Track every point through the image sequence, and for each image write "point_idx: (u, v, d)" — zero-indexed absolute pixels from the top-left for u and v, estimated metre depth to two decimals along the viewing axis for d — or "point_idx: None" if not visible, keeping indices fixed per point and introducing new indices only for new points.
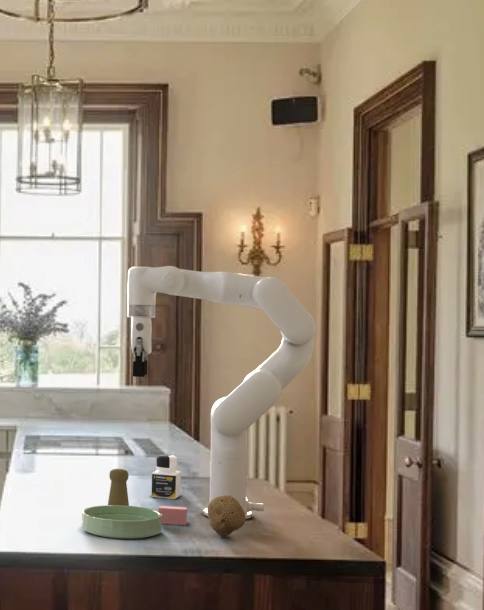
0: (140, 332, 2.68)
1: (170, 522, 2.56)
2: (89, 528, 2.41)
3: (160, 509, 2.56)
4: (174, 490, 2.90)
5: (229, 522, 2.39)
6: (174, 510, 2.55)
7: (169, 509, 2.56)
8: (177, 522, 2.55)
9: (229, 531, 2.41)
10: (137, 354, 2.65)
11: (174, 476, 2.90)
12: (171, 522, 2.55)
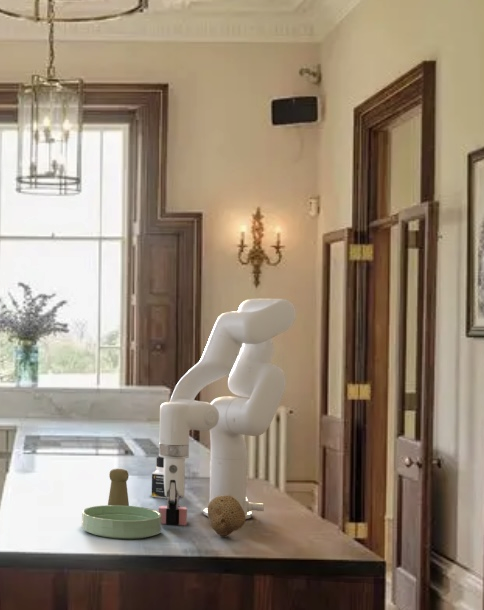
0: (173, 475, 2.52)
1: None
2: (89, 528, 2.41)
3: (160, 509, 2.56)
4: None
5: (229, 522, 2.39)
6: None
7: None
8: None
9: (229, 531, 2.41)
10: (171, 504, 2.53)
11: None
12: None
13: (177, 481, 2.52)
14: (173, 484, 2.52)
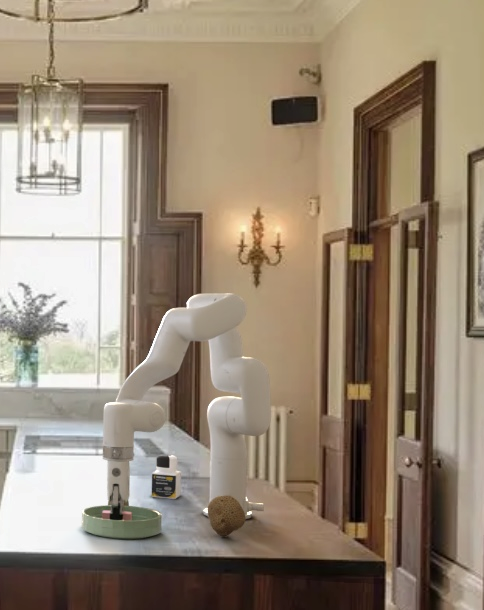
0: (117, 478, 2.42)
1: None
2: (89, 528, 2.41)
3: (103, 514, 2.46)
4: (174, 490, 2.90)
5: (229, 522, 2.39)
6: None
7: None
8: None
9: (229, 531, 2.41)
10: (114, 508, 2.42)
11: (174, 476, 2.90)
12: None
13: (120, 485, 2.41)
14: (116, 488, 2.42)
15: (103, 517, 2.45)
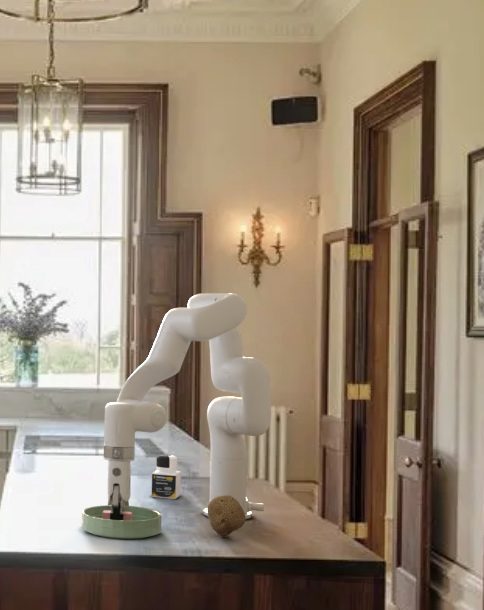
0: (117, 478, 2.42)
1: None
2: (89, 528, 2.41)
3: (104, 513, 2.46)
4: (174, 490, 2.90)
5: (229, 522, 2.39)
6: None
7: None
8: None
9: (229, 531, 2.41)
10: (114, 508, 2.42)
11: (174, 476, 2.90)
12: None
13: (121, 485, 2.41)
14: (117, 488, 2.42)
15: (103, 517, 2.46)
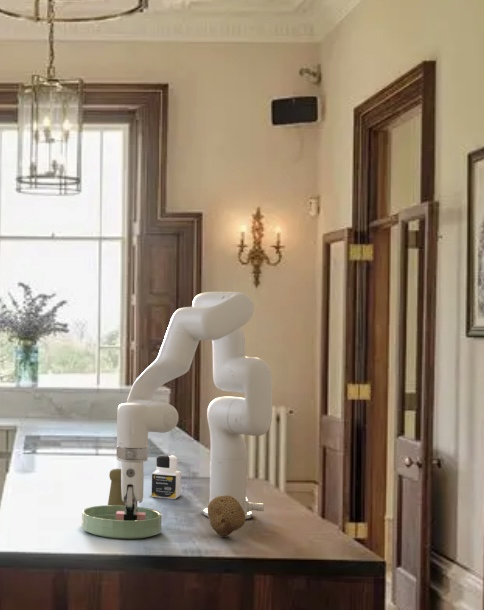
0: (131, 479, 2.41)
1: None
2: (89, 528, 2.41)
3: (117, 515, 2.45)
4: (174, 490, 2.90)
5: (229, 522, 2.39)
6: None
7: None
8: None
9: (229, 531, 2.41)
10: (128, 509, 2.41)
11: (174, 476, 2.90)
12: None
13: (135, 485, 2.41)
14: (130, 489, 2.41)
15: (117, 518, 2.45)
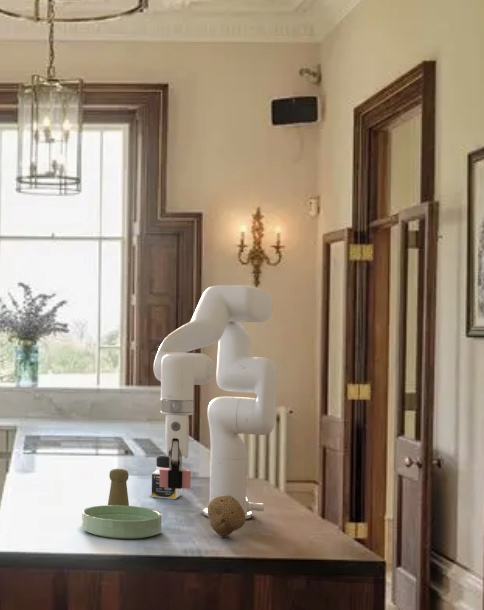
0: (176, 433, 2.29)
1: None
2: (89, 528, 2.41)
3: (161, 471, 2.33)
4: (174, 490, 2.90)
5: (229, 522, 2.39)
6: None
7: None
8: None
9: (229, 531, 2.41)
10: (173, 464, 2.29)
11: None
12: None
13: (180, 439, 2.29)
14: (176, 443, 2.29)
15: (161, 474, 2.33)
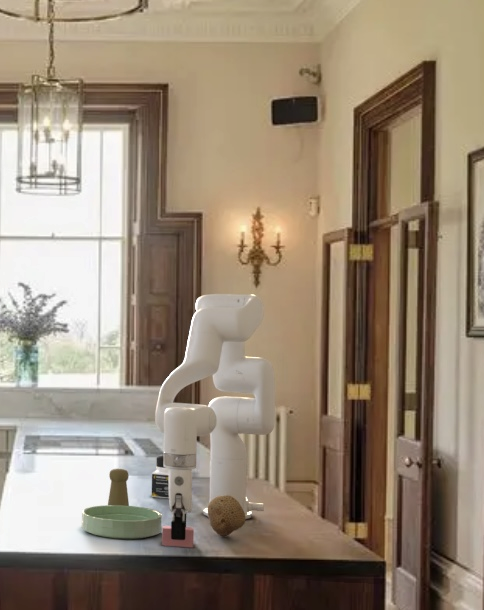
0: (179, 487, 2.28)
1: (175, 544, 2.31)
2: (89, 528, 2.41)
3: (164, 529, 2.32)
4: None
5: (229, 522, 2.39)
6: None
7: None
8: (182, 544, 2.31)
9: (229, 531, 2.41)
10: (177, 515, 2.26)
11: None
12: (176, 544, 2.31)
13: (183, 494, 2.28)
14: None
15: (164, 533, 2.32)
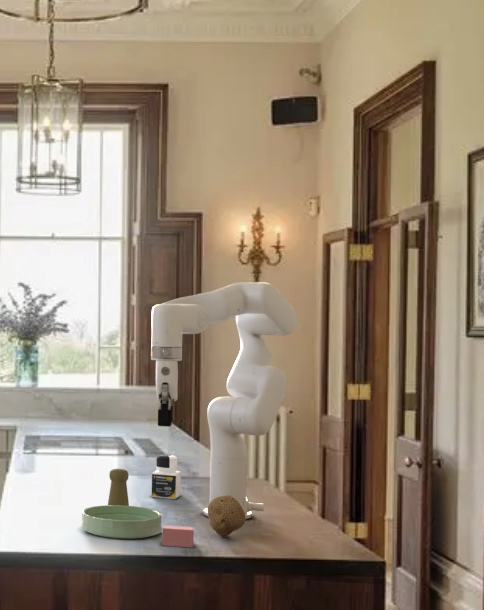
0: (166, 377, 2.43)
1: (175, 544, 2.31)
2: (89, 528, 2.41)
3: (164, 529, 2.32)
4: (174, 490, 2.90)
5: (229, 522, 2.39)
6: (179, 531, 2.31)
7: (174, 529, 2.31)
8: (182, 544, 2.31)
9: (229, 531, 2.41)
10: (163, 402, 2.40)
11: (174, 476, 2.90)
12: (176, 544, 2.31)
13: (170, 383, 2.43)
14: None
15: (164, 533, 2.32)
